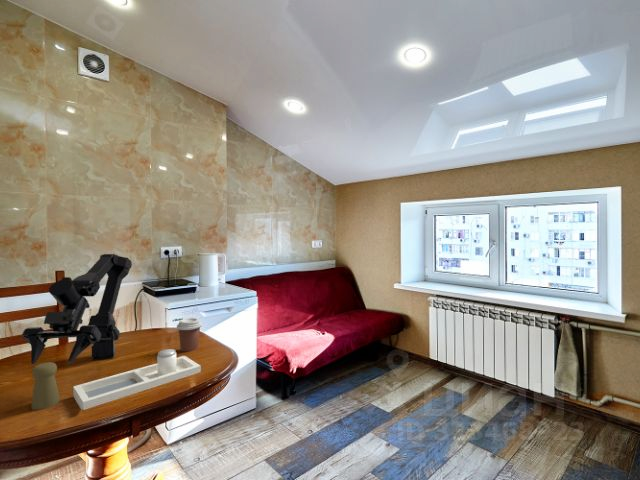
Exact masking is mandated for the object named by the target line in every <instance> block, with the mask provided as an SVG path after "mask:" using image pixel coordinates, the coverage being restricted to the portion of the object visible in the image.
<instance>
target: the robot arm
mask: <svg viewBox="0 0 640 480" xmlns="http://www.w3.org/2000/svg"><path fill="white" fill-rule="evenodd" d="M132 266H133V263H132V260H131V259H130V258H128V257H125V256H121V255H118V254H115V253H103V254H100V255H99V259H98V260H97V261H96V262H95V264H93V266H91V268H89V270H88V271H87V272H85V273H84V274H82V275H78V276H77V277H75V278H73V279H72V278H71V277H68V276H64V277H62V278H61V279H60V280H58V281H56V282H54V283H53V284H51V285H50V286H49V289H48V291H49V293H50V295H51V297H53V298H54V299H55V301H56V302H57V303H58V304H59V305H61V306H62V309H61V310H60V311H47V312H46V313H45V317H44V320H43V324H44V325H49V326H48V328H49V329H51V330H52V331H51V330H50V331H45V329H44V328H43V327H42V326H38V327H37V326H35V327H27V328H24V330H23V331H22V333H21V335H20V336H21V337H22V338H23V339H24V340H25V341H26V342H27V343H28V344H29V345H30V347H31V350H30V351H31V352H30V353H31V356H30V357H31V358H30V359H31V360H30V363H31V365H35V364H36V363H37V362H38V360H39V359H40V357H41V355H42V353H43V351H44V350H45V347H46V343H47V341H48V340H49V339H60V338H61V339H62V338H63V339H65V338H75V342H74V345H73V347H72V350H71V352H70V355H69V357H68V363H73V361H74V360H75V359H76V358H78V356H79V355H80V354H81V353H82V352H84V351H85V350H86V349H87V348H89V347H90V346H91V358H92V361H99V360H100V361H101V360H105V359H106V360H107V359H113V358H114V357H115V355H116V353H117V351H116V345H115V344H116V343H115V341H117V340H119V338H120V333H121V332H120V330H119V329H118V327H117V326H116V323H117V322H116V320H115V317H114V313H115V308H116V305H117V301H118V298H119V297H118V296H119V293H120V288H121V285H122V281H123V280H124V279H125V278H126V277H127V276H128V275H129V273H130V270H131V269H132ZM106 275H107V280H106V284H105V287H104V291H103V293H102V297H101V301H100V303H99V308H98V312H97V313H96V314H93V315H91V316H90V317H89V320H88V324H87V325H83V322H84V321H83V319H82V318H83V315H84V314H85V311H86V309H90V307H91V306H90V303H89V301H88V299H87V297H88V298H90V297H95V296H96V295H97V293H98V292H99V290H100V288H101V286H100V282H101V280H103V278H104V277H105V276H106ZM80 325H81V326H80ZM79 326H80V327H79ZM78 328H79V330H78Z"/></svg>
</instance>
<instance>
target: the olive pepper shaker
mask: <svg viewBox="0 0 640 480" xmlns="http://www.w3.org/2000/svg"><path fill="white" fill-rule="evenodd" d="M57 370H58V366H57V364H56V363H55V362H51V361H50V362H49V361H48V362H47V361H46V362H42V363H39V364H37V365H35V366H34V367H33V369H32V372H31V373H32V377H33V378H34V384H33V392H32V400H31V407H30V409H32V410H34V411H35V410H37V411H40V410H45V409H49V408H51V407H54V406H56V405H57V404H59V403H60V400H61V399H60V396H59V395H60V394H59V390H58V385H57V381H56V373H57Z"/></svg>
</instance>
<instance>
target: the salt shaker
mask: <svg viewBox="0 0 640 480" xmlns="http://www.w3.org/2000/svg"><path fill="white" fill-rule="evenodd" d="M176 358H177V352H176V349H172V348H168V349H167V348H166V349H163V350H160V351H158V353H157V356H156V359H157V376H158V377H159V376H163V375H166V374H169V373H172V372H176V371H177V360H176Z"/></svg>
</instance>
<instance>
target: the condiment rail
mask: <svg viewBox="0 0 640 480" xmlns="http://www.w3.org/2000/svg"><path fill="white" fill-rule="evenodd" d="M176 360H177V371H176V372H172V373H169V374H166V375H163V376H159V377H158V376H157V363H153V364H150V365H147V366H143V367H142V366H141V367H139V368H134V369H132V370H128V371H125V372H120V373H116V374H114V375H111V376H106V377H103V378H99V379H95V380H92V381H88V382H84V383H81V384H78V385H74V386H73V390H72V391H73V399H74V400H75V402H76V403H77V405H78V407H79V409H81V411H84V410H87V409H91V408H94V407H97V406H99V405H103V404H107V403H109V402H112V401H115V400H118V399H121V398H126V397H128V396H131V395H135V394H137V393H140V392H144V391H146V390H149V389H153V388H155V387H159V386H161V385H166V384H168V383H171V382H175V381H176V380H181V379H183V378H187V377H189V376H192V375H197V374H199V373H202V366H201V364H198V363H197V362H195V361H194V360H192V359H191V358H189V357H188V356H186V355H181V356H179V357H176Z"/></svg>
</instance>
